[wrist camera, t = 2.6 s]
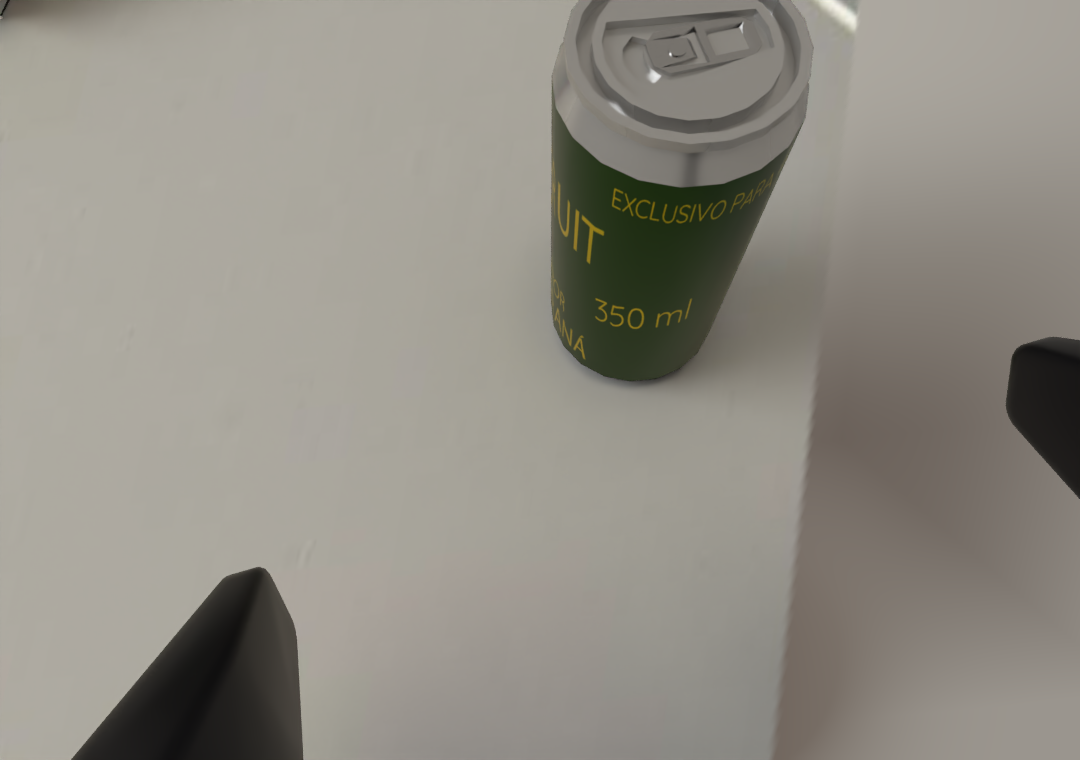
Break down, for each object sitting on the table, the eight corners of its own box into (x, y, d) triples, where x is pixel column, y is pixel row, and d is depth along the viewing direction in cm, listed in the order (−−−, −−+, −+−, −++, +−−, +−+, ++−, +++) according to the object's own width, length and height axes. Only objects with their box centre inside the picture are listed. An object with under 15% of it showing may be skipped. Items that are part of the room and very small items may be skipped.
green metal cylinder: (678, 234, 27) (767, -75, 16) (729, 368, 25) (870, 119, 14) (534, 268, 27) (523, -27, 16) (574, 406, 25) (594, 181, 14)
